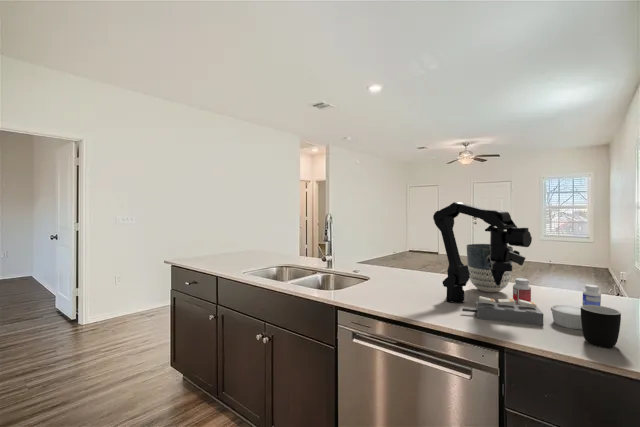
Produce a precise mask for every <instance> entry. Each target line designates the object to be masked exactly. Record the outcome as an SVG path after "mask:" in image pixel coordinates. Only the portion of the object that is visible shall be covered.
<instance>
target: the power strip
mask: <svg viewBox="0 0 640 427" xmlns="http://www.w3.org/2000/svg"><path fill="white" fill-rule="evenodd" d="M461 310H462V312H467V313H475V314H476V316H477V319H479V320H486V321H489V320H490V321H498V322H505V323H506V322H508V323H516V324H525V325H526V324H528V325H537V326H544V312H542V310H540V308H538V306H536V308H531V307H527V306H522V305H500V304H499V303H498V302H495V305H493V304H489V303H485V302H481V301H475V309H473V308H462V309H461Z"/></svg>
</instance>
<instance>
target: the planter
mask: <svg viewBox="0 0 640 427" xmlns="http://www.w3.org/2000/svg"><path fill="white" fill-rule="evenodd" d="M489 246H490V243H471V244H467V245H466V262H467V263H466V265H467V266H468V270H469V273H470V275H469V276H470V279H469V281H470V283H471V284H472V285H473V286H474V288H476V289H477V290H480V291H482V292H485V293H492V294H493V293H498V292H500V291H503V290H504V289H505V288H507V286H508V285H509V283H510V280H511V277H512V271H506V272H504V274H503V276H502V280H501V283H500V286H497V285H496V283H495V281H494V278H493V276H492V273H491V271H490V268H489V266H488V265H491V262H489V263H487V262H486V258H487V256H488V255H490V248H489ZM513 247H514V246H513ZM513 247H512V246H511V245H508V248H509V251H511V252H513V251H514V248H513ZM509 263H510V264H511V265H512V266H513V262H512V261H510V260H509Z"/></svg>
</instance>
